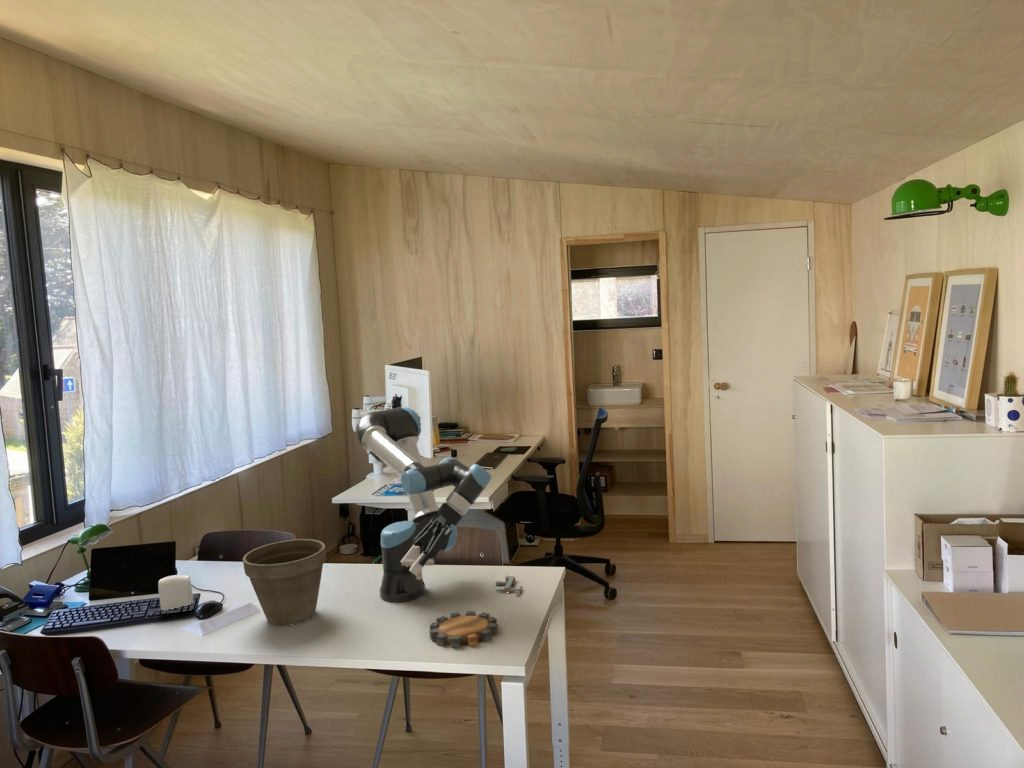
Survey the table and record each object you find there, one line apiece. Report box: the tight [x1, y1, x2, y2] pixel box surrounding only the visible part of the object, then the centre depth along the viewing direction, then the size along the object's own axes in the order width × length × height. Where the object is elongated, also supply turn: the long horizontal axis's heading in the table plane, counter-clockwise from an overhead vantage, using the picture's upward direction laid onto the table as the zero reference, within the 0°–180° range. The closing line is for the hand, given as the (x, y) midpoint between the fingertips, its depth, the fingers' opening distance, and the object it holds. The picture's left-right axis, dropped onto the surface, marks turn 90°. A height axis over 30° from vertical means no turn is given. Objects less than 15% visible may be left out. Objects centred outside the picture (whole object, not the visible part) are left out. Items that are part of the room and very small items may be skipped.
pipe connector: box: [401, 546, 435, 580], centre depth 235 cm, size 10×10×10 cm
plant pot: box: [242, 538, 327, 627], centre depth 242 cm, size 25×25×22 cm
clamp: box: [495, 575, 524, 597], centre depth 256 cm, size 15×2×10 cm
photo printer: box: [157, 574, 194, 611], centre depth 253 cm, size 10×4×12 cm, turn 100°
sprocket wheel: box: [429, 610, 499, 649], centre depth 222 cm, size 20×20×2 cm
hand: (408, 568), depth 234 cm, fingers closed on pipe connector, 9 cm apart
